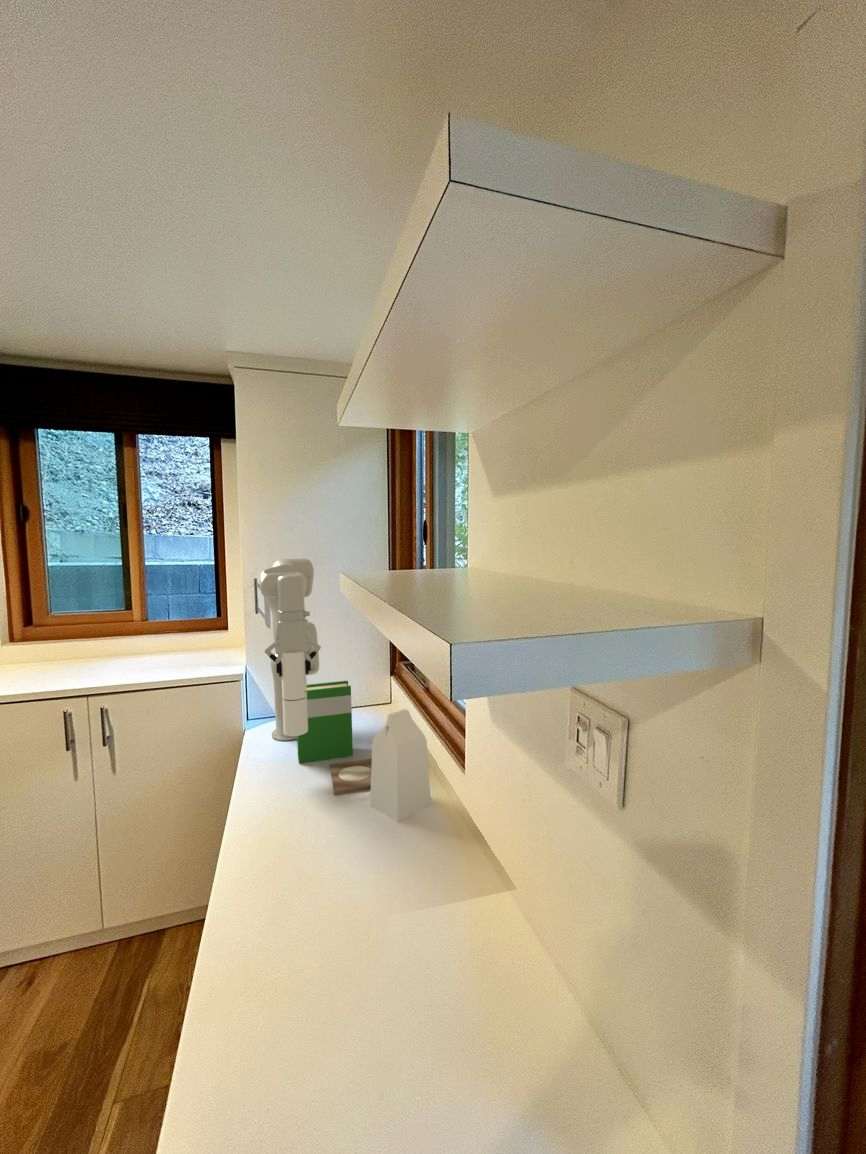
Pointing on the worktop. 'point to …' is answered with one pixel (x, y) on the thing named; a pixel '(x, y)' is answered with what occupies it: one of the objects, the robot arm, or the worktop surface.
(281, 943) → the worktop surface
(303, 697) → the cylindrical container
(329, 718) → the hardback book
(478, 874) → the worktop surface
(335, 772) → the walnut board
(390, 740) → the milk
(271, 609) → the robot arm
